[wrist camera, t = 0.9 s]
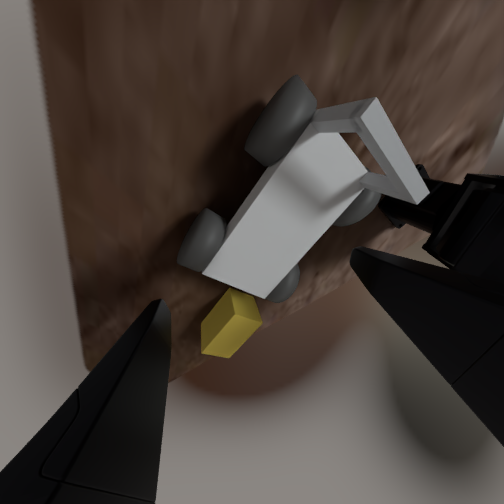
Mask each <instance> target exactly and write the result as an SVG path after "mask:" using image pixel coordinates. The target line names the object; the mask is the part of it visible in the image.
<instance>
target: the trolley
mask: <svg viewBox="0 0 504 504" xmlns="http://www.w3.org/2000/svg"><path fill="white" fill-rule="evenodd" d="M316 106H317V100H316V98H315V97H314V96H313V94H312V93H311V92H310V90H309V89H308V88H307V86H306V85H305V84H304V82H303V81H302V80H301V78H300V77H299V76H298V75H294V76H293V77H291V78H290V79H289V80H288V81H287V82H286V83H285V84H284V85H283V86H282V87H281V88H280V89H279V90H278V91H277V93H276V94H275V95H274V96H273V97H272V99H271V100H270V101H269V103H268V104H267V106H266V107H265V108H264V110H263V111H262V113H261V114H260V116H259V117H258V119H257V121H256V122H255V124H254V126H253V128H252V129H251V131H250V133H249V135H248V138H247V140H246V143H245V147H244V149H245V151H247V152H248V153H249V154H250V155H251V156H252V157H254V158H255V159H256V160H257V161H258V162H259V163H261V164H262V165H263V166H268V168H267V169H266V171H265V172H264V173H263V175H262V176H261V178H260V179H259V181H258V182H257V184H256V185H255V186H254V188H253V189H252V191H251V192H250V194H249V195H248V196H247V198H246V199H245V201H244V202H243V204H242V205H241V207H240V208H239V209H238V211H237V212H236V214H235V215H234V217H233V218H232V219H231V221H230V222H229V224H228V225H227V224H226V220H225V219H224V218H223V217H221V216H219V215H218V214H216V213H214V212H213V211H211V210H209V209H207V208H205V209H203V210H202V211H201V212H200V213H199V215H198V216H197V217H196V219H195V220H194V222H193V223H192V225H191V227H190V228H189V230H188V232H187V234H186V236H185V238H184V240H183V242H182V245H181V247H180V250H179V253H178V256H177V263H178V264H180V265H182V266H185V267H187V268H190V269H192V270H195V271H197V272H200V271H202V274H203V275H206V276H208V277H211V278H213V279H216V280H218V281H221V282H223V283H226V284H228V285H231V286H233V287H236V288H238V289H241V290H243V291H246V292H248V293H251V294H253V295H256V296H258V297H261V298H263V299H267V300H269V301H272V302H274V303H280V302H283V301H285V300H287V299H288V298H289V297H290V296H291V295H292V294H293V292H294V291H295V289H296V287H297V285H298V282H299V277H300V270H299V266H298V264H297V263H298V261H299V260H300V259H301V258H302V257H303V256H304V255H305V254H306V253H307V251H308V250H309V249H310V248H311V247H312V246H313V245H314V244H315V243H316V241H317V240H318V239H319V238H320V237H321V236H322V235H323V234H324V233H325V232H326V230H327V229H328V228H329V227H330V226H331V225H335V226H348V225H351V224H354V223H356V222H358V221H360V220H361V219H363V218H364V217H366V216H367V215H368V214H369V213H370V212H371V211H372V210H373V209H374V208H375V207H376V205H377V204H378V202H379V200H380V197H381V193H382V194H385V195H388V196H391V197H394V198H398V199H401V200H404V201H407V202H410V203H413V204H416V205H418V204H419V203H420V202H421V201H422V200H423V199H424V198H425V197H426V196H427V195H428V194H429V193H430V192H429V190H428V189H427V187H426V185H425V183H424V181H423V180H422V178H421V176H420V174H419V172H418V171H417V169H416V167H415V165H414V163H413V162H412V160H411V158H410V156H409V154H408V153H407V151H406V149H405V147H404V145H403V144H402V142H401V140H400V138H399V137H398V135H397V133H396V131H395V129H394V128H393V126H392V124H391V122H390V120H389V119H388V117H387V115H386V113H385V111H384V110H383V108H382V106H381V104H380V102H379V101H378V99H377V97H374V98H369V99H365V100H360V101H355V102H350V103H346V104H341V105H336V106H332V107H327V108H322V109H318V110H316ZM340 132H357V134H358V135H359V136H360V138H361V139H362V141H363V142H364V144H365V145H366V147H367V148H368V149H369V151H370V152H371V154H372V155H373V157H374V158H375V159H376V161H377V162H378V164H379V165H380V167H381V168H382V169H383V171H384V172H385V174H386V175H387V176H386V175H381V174H376V173H372V172H371V171H370V170H369V169H368V168H366V167H364V166H363V165H362V163H361V162H360V161H359V159H358V158H357V157H356V155H355V154H354V153H353V151H352V150H351V149H350V148H349V146H348V145H347V144H346V142H345V141H344V140H343V138H342V137H341V136H340V134H339V133H340ZM226 225H227V227H226Z"/></svg>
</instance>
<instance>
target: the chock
mask: <svg viewBox="0 0 504 504" xmlns="http://www.w3.org/2000/svg"><path fill="white" fill-rule="evenodd" d="M262 323H263V322H262V319H261V317H260V314H259V311H258V308H257V305H256V302H255V299H254V297H253V296H250V295H247V294H245V293H242V292H240V291H237V290H235V289H232V288H229V289H228V290H227V291H226V293H225V294H224V295H223V296H222V298H221V299H220V300H219V301H218V303H217V304H216V305H215V306H214V308H213V309H212V310H211V311H210V313H209V314H208V315H207V316H206V318H205V319H204V320H203V321H202V323H201V353H203V354H208V355H214V356H220V357H225V358H230V357H231V356H232V354H234V353H235V352H236V351H237V350H238V349H239V347H240V346H241V345H242V344H243V343H244V342H245V341H246V340H247V339H248V338H249V337H250V336H251V335H252V334H253V333H254V332H255V331H256V330H257V329H258V328H259V326H260V325H261V324H262Z"/></svg>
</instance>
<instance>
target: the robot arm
mask: <svg viewBox="0 0 504 504" xmlns="http://www.w3.org/2000/svg"><path fill="white" fill-rule="evenodd" d="M415 167H416V169H417V171H418V172H419V174H420V176H421V178H422V180H423V181H424V183H425V185H426V187H427V189H428V190H429V192H430V193H429V194H428V195H427V196H426V197H425V198H424V199H423V200H422V201H421V202H420V203H419V204H418V205H416V204H413V203H410V202H407V201H404V200H401V199H398V198H394V197H391V196H388V195H387V196H386V197H385V198H384V199H383V200H382V201H381V202H380V203H379V208H380V209H381V211H382V212H383V213H384V214H385V215H386V216H387V218H388V219H389V220H390V221H391V222H392V224H393V225H394V226H395V227H396V228H398V229H399V228H401V227H402V226H403V225H405V224H406V223H407V224H409V225H411V226H414V227H416V228H419V229H421V230H423V231H426V232H428V233H430V234H431V235H430V237H429V238H428V240H427V242H426V243H425V244H424V245H423V246H422V248H423V249H424V250H426V251H427V252H428V253H429V254H430V255H432V256H433V257H434V258H436V259H437V260H438V261H440V262H441V263H443V264H444V265H445V266H447V267H448V268H449V269H447V268H443V267H439V266H435V265H432V264H428V263H424V262H420V261H416V260H412V259H408V258H405V257H401V256H397V255H393V254H389V253H385V252H382V251H378V250H374V249H370V248H366V247H362V246H361V247H356V248H354V249H353V250H352V252H351V257H350V266H351V268H352V269H353V270H354V272H355V273H356V275H357V276H358V277H359V279H360V280H361V282H362V283H363V284H364V286H365V287H366V289H367V290H368V291H369V292H370V294H371V295H372V296H373V297H374V298H375V299H376V300H377V302H378V303H379V304H380V305H381V306H382V307H383V309H384V310H385V311H386V312H387V313H388V314H389V316H391V318H392V319H393V320H394V321H395V322H396V324H397V325H398V326H399V327H400V328H401V329H402V330H403V332H404V333H405V334H406V335H407V336H408V337H409V338H410V340H411V341H412V342H413V343H414V344H415V345H416V346H417V348H418V349H419V350H420V351H421V352H422V353H423V355H424V356H425V357H426V358H427V359H428V360H429V361H430V363H431V364H432V365H433V366H434V367H435V368H436V369H437V370H438V372H439V373H440V374H441V375H442V376H443V377H444V379H445V380H446V381H447V382H448V383H449V384H450V385H451V387H452V388H453V389H454V390H455V392H457V394H458V395H459V396H460V397H461V398H462V400H463V401H464V402H465V403H466V404H467V405H468V406H469V408H470V409H471V410H472V411H473V412H474V413H475V414H476V416H477V417H478V418H479V419H480V420H481V421H482V423H484V425H485V426H486V427H487V428H488V429H489V431H490V432H491V433H492V434H493V435H494V436H495V437H496V439H497V440H498V441H499V442H500V443H501V444H502V446H503V447H504V176H501V175H489V174H470V173H467V175H466V176H465V178H464V179H465V180H464V182H463V183H462V185H459V184H454V183H449V182H443V181H440V180H434V179H430V178H429V176H428V174H427V172H426V170H425V168H424V166H423V165H421V164H417V165H416V166H415ZM170 359H171V313H170V310H169V309H168V307H167V305H166V303H165V302H164V300H163V299H158V300H154V301H152V302H151V303H150V304H149V305H148V306H147V307H146V308H145V309H144V311H143V312H142V313H141V314H140V315H139V316H138V318H137V319H136V320H135V321H134V322H133V323H132V325H131V326H130V327H129V328H128V329H127V330H126V332H125V333H124V334H123V335H122V336H121V337H120V339H119V340H118V341H117V342H116V343H115V344H114V346H113V347H112V348H111V349H110V350H109V351H108V352H107V354H106V355H105V356H104V357H103V358H102V359H101V361H100V362H99V363H98V364H97V365H96V366H95V368H94V369H93V370H92V371H91V372H90V373H89V375H88V376H87V377H86V378H85V379H84V381H83V382H82V383H81V384H80V385H79V386H78V389H76V390H75V391H74V392H73V393H72V394H71V395H70V397H69V398H68V399H67V400H66V401H65V402H64V403H63V405H62V406H61V407H60V408H59V409H58V410H57V412H56V413H55V414H54V415H53V416H52V417H51V418H50V419H49V420H48V422H47V423H46V424H45V425H44V426H43V427H42V428H41V429H40V430H39V431H38V432H37V433H36V435H35V436H34V437H33V438H32V439H31V440H30V441H29V442H28V443H27V445H25V446H24V448H23V449H22V450H21V451H20V452H19V453H18V454H17V455H16V456H15V457H14V458H13V459H12V460H11V461H10V462H9V463H8V464H7V465H6V467H5V468H4V469H3V470H2V471H1V472H0V504H155V503H154V502H155V500H156V491H157V482H158V472H159V463H160V454H161V444H162V435H163V424H164V416H165V406H166V396H167V387H168V378H169V368H170Z"/></svg>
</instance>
